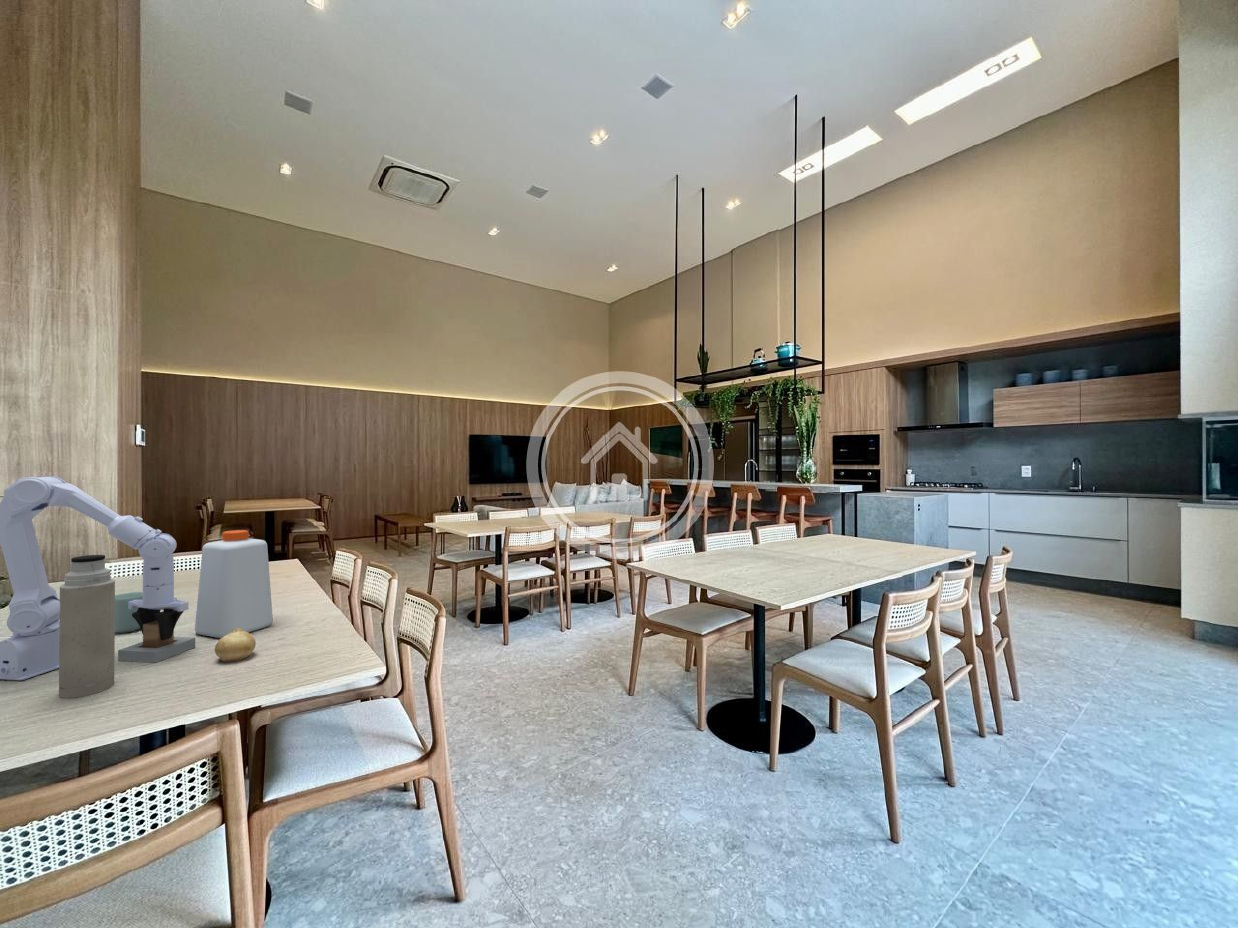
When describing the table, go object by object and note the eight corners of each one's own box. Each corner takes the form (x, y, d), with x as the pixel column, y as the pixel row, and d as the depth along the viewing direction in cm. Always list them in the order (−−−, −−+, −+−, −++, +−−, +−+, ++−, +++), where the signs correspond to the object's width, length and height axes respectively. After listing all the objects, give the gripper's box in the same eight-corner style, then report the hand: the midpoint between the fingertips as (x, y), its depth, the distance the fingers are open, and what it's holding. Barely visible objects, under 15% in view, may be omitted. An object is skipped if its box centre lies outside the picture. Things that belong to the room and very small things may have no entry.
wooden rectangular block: (157, 653, 122) (157, 624, 122) (142, 652, 123) (143, 624, 123) (173, 647, 126) (173, 619, 126) (159, 646, 127) (159, 619, 127)
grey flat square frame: (155, 662, 119) (155, 652, 119) (117, 660, 120) (118, 650, 120) (195, 647, 129) (195, 637, 129) (160, 645, 130) (160, 635, 130)
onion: (263, 654, 125) (263, 625, 125) (231, 666, 118) (231, 636, 118) (239, 650, 127) (239, 622, 127) (206, 662, 120) (206, 633, 120)
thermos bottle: (57, 690, 105) (58, 556, 104) (111, 677, 111) (112, 551, 111) (60, 701, 100) (61, 561, 99) (116, 688, 106) (117, 555, 106)
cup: (155, 626, 144) (155, 592, 144) (125, 636, 137) (126, 599, 137) (130, 625, 145) (131, 591, 145) (100, 634, 138) (100, 598, 137)
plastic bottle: (244, 618, 153) (244, 526, 153) (279, 624, 148) (280, 529, 148) (187, 634, 139) (188, 533, 138) (224, 641, 134) (225, 536, 133)
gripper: (200, 581, 128) (199, 634, 128) (148, 579, 129) (148, 631, 129) (172, 587, 121) (172, 644, 121) (118, 585, 122) (118, 641, 122)
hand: (158, 638), depth 125 cm, fingers closed on wooden rectangular block, 4 cm apart
